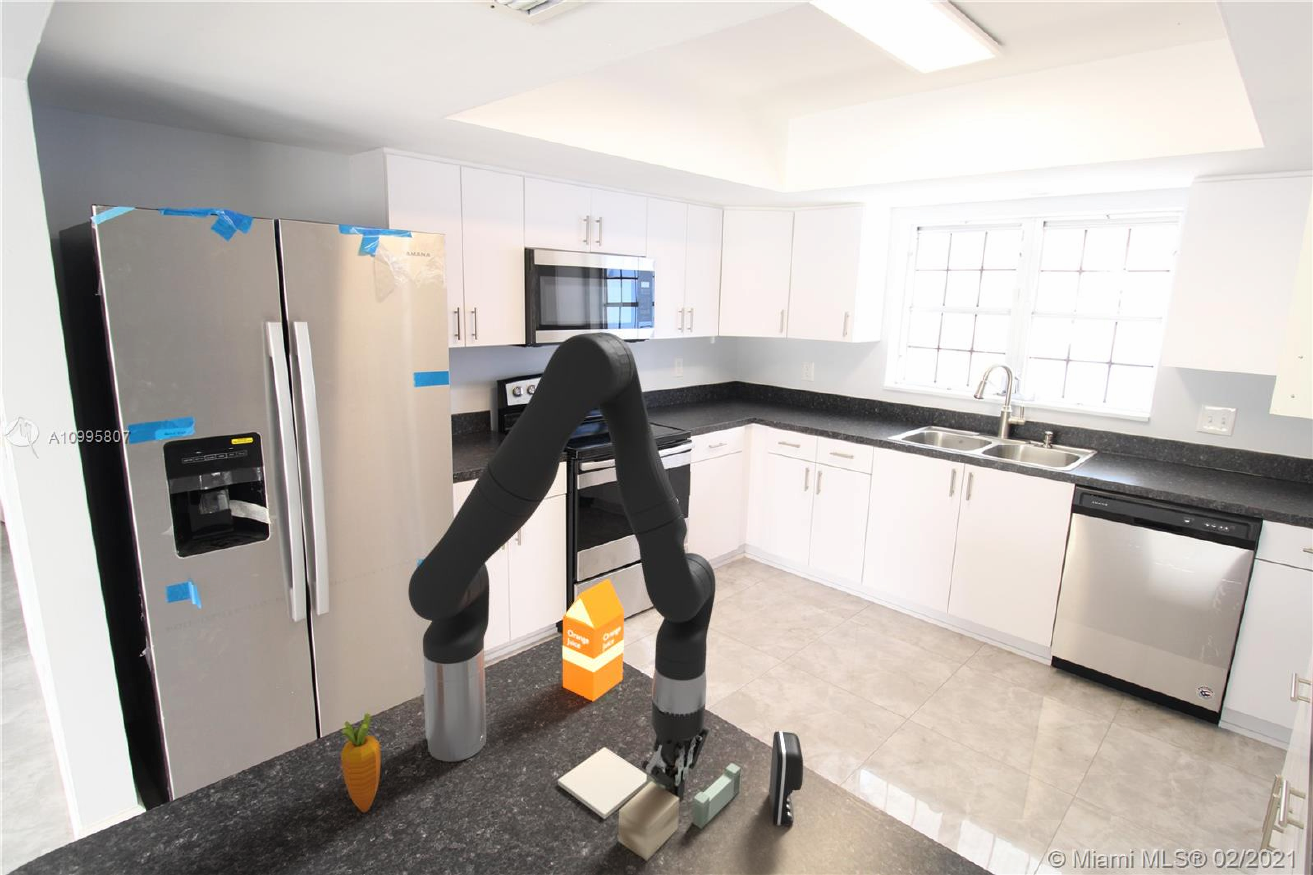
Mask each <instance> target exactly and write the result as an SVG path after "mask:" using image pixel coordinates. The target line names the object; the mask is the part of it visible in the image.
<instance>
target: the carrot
mask: <svg viewBox="0 0 1313 875" xmlns="http://www.w3.org/2000/svg"><path fill="white" fill-rule="evenodd" d="M362 721H363V722H362V724H361V726H360V727H359V728H358V727H356V728H355V729H354V728H353V726H352V725H351V723H350V722H349V721H345V722H344V726H345V727H346V728H343V729H342V730H341V734H342V735H344V736H345V737H346V738H347V739H348V741H347V742H346V743H345V745H344V746H343V747H342V750H341V754H340V759H341V767H342V768H341V769H342V774H343V781H344V782H345V787H346V790H347V792H348V794H349V798H350V799H351V800H352V802H353V803H354V805H355V806H356V807H357V808H358V809H359V810H360V811H361V813H366V812H368V811H369V810H370V808H371V806H372V804H373V802H374V799H375V797H376V795H377V791H378V788H379V781H380V775H381V744H380V742H379V740H377V739H376V738H375V737H374V736H373V735H369V734H368V730H369V728H370V721H371V714H370V713H364V717H363V720H362ZM367 734H368V735H367Z"/></svg>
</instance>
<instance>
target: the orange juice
mask: <svg viewBox="0 0 1313 875" xmlns="http://www.w3.org/2000/svg"><path fill="white" fill-rule="evenodd" d="M624 622H625V610H624V608H623V606H622V604H621V601H620V600H619V598H618V595H617V593H616V591H615V589H614V586H613V585H612V581H611V580H610V578H608V579H607V578H606V579H605V580H603V581H601V582H599V583H598V584H596V585H594V586H593V587H590V588H588V589H586V590H585V591H583V592H581V593H579V594H578V596H577V598H576V599H575V600H574V602H573V603H572V604H571V606H570V607H569V609H568V610H566V613H565V614H564V615H563V616H562V687H563V688H565V689H566V690H568V691H571V692H573V693H575V694H577V695H579V696H582V697H583V696H584V697H583V698H585V699H587V700H589V701H591V700H592V702H594V701H596V700H597V699H598V698H600V697H601V696H603V695H604V694H605V693H607V692H608V691H610V689H612V688H614V687H615V686H616V685H617V684H619V683H620V682H621V681H623V676H624V674H623V671H624V670H623V666H624V665H623V664H624V644H625V643H624V629H625V625H624V624H625V623H624Z"/></svg>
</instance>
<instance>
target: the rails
mask: <svg viewBox="0 0 1313 875" xmlns="http://www.w3.org/2000/svg"><path fill="white" fill-rule="evenodd" d="M646 774H647V777H646V785H648V784H649V783H650V782H653V783H655V784H656V785H658V786H660V787H661V788H663V789H665V786H664V785H662V784H660V783H659V782H657V781H655V780H654V779H653V778H652V777H651V776H650V775H649V774H648V773H646ZM740 782H741V767H740V766H738V765H737V764H734V763H733V762H731V763H730V764H728V766H727V767H726V768H725V772H724V773H723V774H722V775H721V776H720V777H719V778H718V779H717V780H716V781H714V782H713V784H711V785H710V786H709V787H708V788H707V789H706V790H705V791H704V792H702V791H699V792H698V793H697V794H695V796H694V797H693V804H692V819H691V820H692V821H691V822H692V824H694V825H696V826H697V827H698V828H699V829H703V828H704V827H705V825H707V824H708V823H709V822H710V821H711V820H712V819H713V818H714V817H716V815H717V814H718V813H719V812H720V811H721V810H722V809H723V808H724V807H725V806H726V805H727V804H728V803H729V802H731V800H732V799H733V798H734V797H736V795H737V794H738V793H739V792H740Z"/></svg>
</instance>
